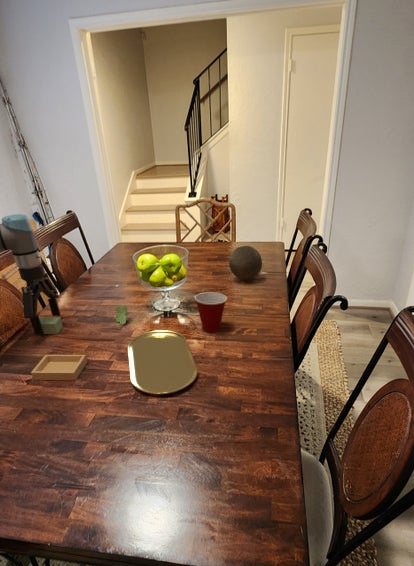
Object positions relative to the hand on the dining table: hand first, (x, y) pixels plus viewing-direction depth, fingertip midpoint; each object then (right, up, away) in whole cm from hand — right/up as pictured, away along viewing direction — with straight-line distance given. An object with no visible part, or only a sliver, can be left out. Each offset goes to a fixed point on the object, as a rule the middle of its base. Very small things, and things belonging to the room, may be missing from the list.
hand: (48, 324), depth 131 cm
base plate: (+13, -15, -21) cm, 29 cm away
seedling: (+28, +3, +8) cm, 30 cm away
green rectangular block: (0, -2, +1) cm, 3 cm away
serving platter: (+42, -13, -19) cm, 48 cm away
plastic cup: (+58, -2, -3) cm, 58 cm away
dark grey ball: (+73, +22, +35) cm, 84 cm away
